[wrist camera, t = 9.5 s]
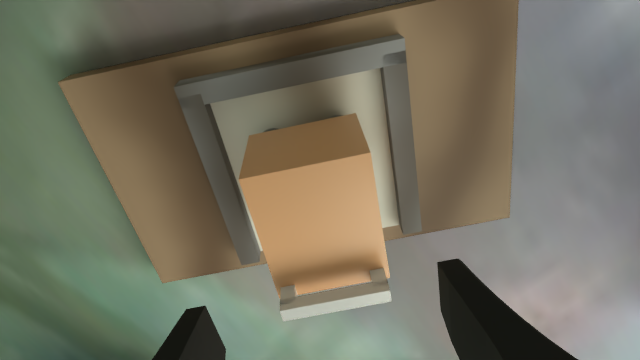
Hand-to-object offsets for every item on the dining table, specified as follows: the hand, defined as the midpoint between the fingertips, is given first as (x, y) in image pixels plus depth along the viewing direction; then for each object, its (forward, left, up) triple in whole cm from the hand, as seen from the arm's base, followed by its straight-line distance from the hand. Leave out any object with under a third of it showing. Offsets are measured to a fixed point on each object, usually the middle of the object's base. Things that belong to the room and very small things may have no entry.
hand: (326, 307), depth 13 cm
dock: (0, +1, -10) cm, 10 cm away
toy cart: (0, 0, -9) cm, 9 cm away
